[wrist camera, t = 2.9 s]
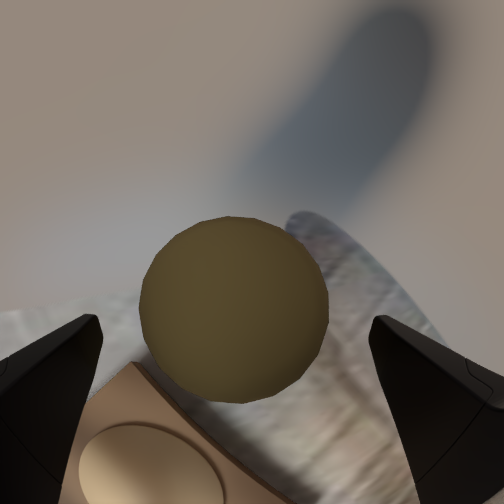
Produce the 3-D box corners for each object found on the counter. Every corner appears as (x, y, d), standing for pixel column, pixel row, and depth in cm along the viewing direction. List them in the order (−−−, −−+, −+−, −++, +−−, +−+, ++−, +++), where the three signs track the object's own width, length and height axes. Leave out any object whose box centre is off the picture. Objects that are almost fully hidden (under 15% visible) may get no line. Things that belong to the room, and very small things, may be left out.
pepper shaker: (162, 335, 17) (66, 275, 6) (240, 273, 18) (246, 146, 8) (230, 415, 15) (221, 479, 5) (308, 346, 17) (406, 300, 7)
